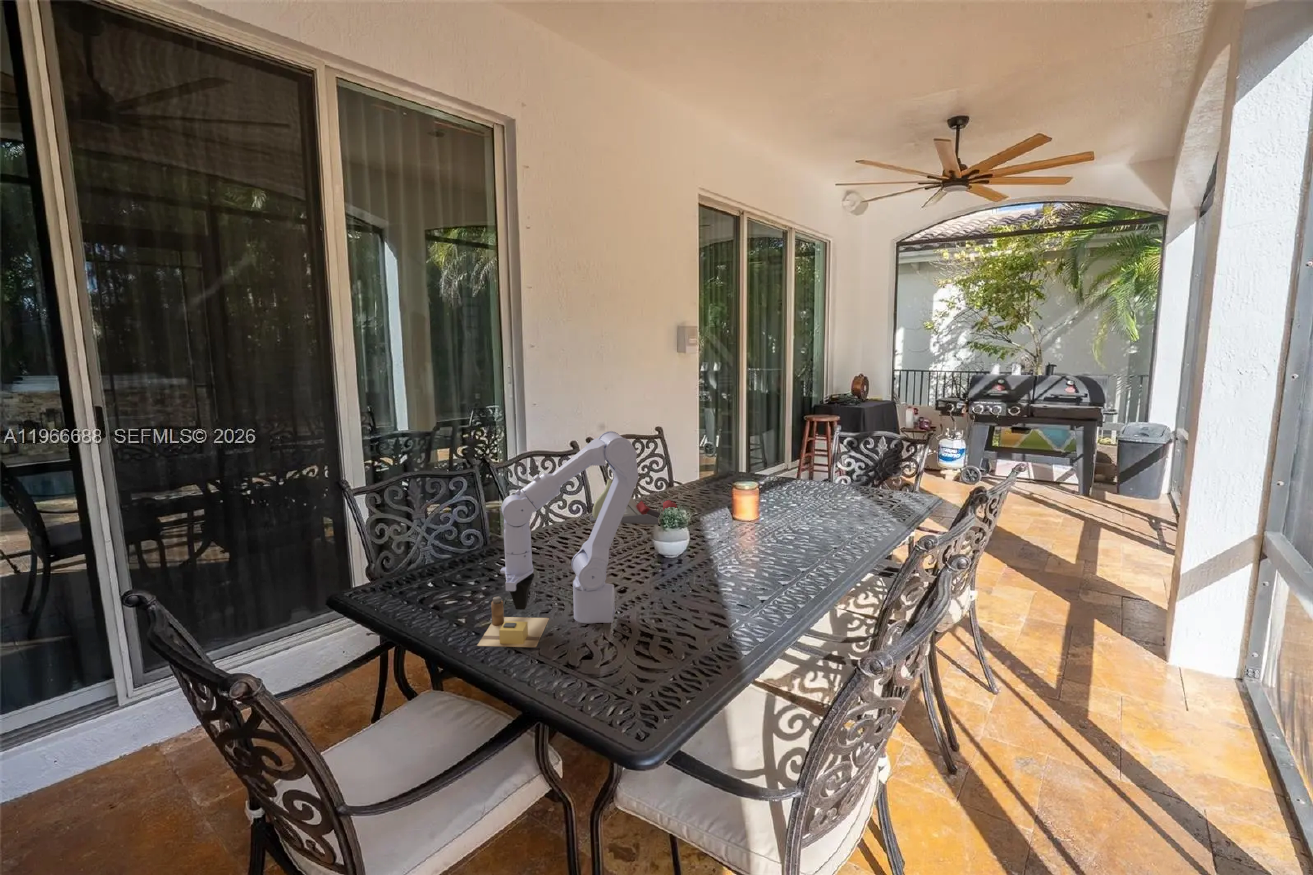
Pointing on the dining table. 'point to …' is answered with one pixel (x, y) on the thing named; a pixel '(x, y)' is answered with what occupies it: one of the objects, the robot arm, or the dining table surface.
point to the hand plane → (631, 509)
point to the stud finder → (513, 632)
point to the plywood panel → (534, 624)
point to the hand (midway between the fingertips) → (521, 608)
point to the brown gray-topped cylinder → (497, 611)
